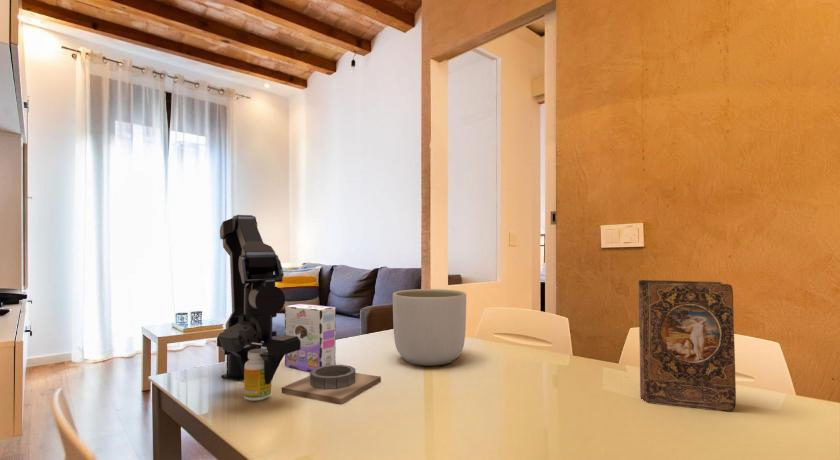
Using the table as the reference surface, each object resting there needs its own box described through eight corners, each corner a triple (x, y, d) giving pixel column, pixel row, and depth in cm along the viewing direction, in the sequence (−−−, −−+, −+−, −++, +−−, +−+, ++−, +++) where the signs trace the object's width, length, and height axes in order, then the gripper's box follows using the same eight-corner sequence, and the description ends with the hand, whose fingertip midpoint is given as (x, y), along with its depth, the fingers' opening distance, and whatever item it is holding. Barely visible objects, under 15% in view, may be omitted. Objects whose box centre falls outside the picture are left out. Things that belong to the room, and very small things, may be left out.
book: (642, 402, 90) (640, 281, 90) (638, 393, 95) (636, 279, 95) (736, 412, 84) (733, 284, 85) (726, 402, 89) (724, 281, 90)
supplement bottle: (262, 402, 89) (262, 354, 89) (238, 400, 90) (238, 353, 90) (275, 393, 94) (276, 348, 94) (253, 391, 95) (253, 347, 95)
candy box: (336, 369, 113) (336, 306, 114) (320, 375, 109) (320, 309, 109) (300, 361, 121) (300, 302, 121) (283, 366, 116) (283, 305, 116)
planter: (470, 371, 111) (469, 297, 112) (389, 371, 111) (389, 297, 112) (463, 351, 132) (462, 288, 133) (395, 351, 132) (395, 288, 133)
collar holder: (281, 393, 95) (281, 376, 96) (326, 373, 110) (326, 358, 110) (341, 404, 89) (341, 386, 89) (380, 381, 103) (380, 366, 103)
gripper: (194, 311, 89) (193, 387, 89) (262, 317, 81) (262, 401, 81) (238, 304, 99) (237, 372, 99) (302, 309, 91) (302, 383, 91)
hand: (257, 382), depth 92 cm, fingers closed on supplement bottle, 5 cm apart
